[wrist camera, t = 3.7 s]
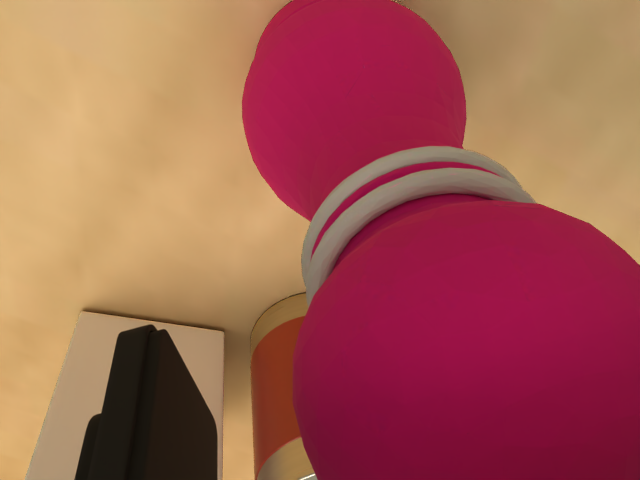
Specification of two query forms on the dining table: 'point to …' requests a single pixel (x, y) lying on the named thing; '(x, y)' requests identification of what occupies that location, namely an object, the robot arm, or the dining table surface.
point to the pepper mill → (433, 270)
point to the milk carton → (91, 382)
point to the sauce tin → (277, 394)
